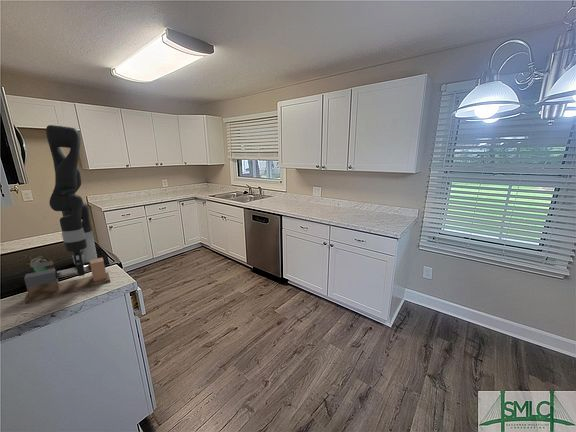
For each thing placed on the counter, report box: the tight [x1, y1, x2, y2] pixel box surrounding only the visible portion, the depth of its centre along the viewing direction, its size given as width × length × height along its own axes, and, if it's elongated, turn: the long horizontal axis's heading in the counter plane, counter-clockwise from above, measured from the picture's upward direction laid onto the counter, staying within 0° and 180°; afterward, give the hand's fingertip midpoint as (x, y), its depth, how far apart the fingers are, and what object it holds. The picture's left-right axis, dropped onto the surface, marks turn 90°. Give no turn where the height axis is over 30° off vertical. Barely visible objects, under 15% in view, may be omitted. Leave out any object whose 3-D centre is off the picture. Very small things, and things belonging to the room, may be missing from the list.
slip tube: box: [55, 263, 92, 279], centre depth 110 cm, size 17×3×3 cm, turn 130°
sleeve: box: [23, 267, 57, 289], centre depth 103 cm, size 9×5×4 cm, turn 130°
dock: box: [24, 271, 111, 305], centre depth 110 cm, size 28×10×6 cm, turn 130°
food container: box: [29, 255, 55, 273], centre depth 116 cm, size 12×6×10 cm, turn 62°
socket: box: [89, 257, 107, 281], centre depth 116 cm, size 5×5×9 cm
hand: (81, 272), depth 112 cm, fingers open, 8 cm apart
